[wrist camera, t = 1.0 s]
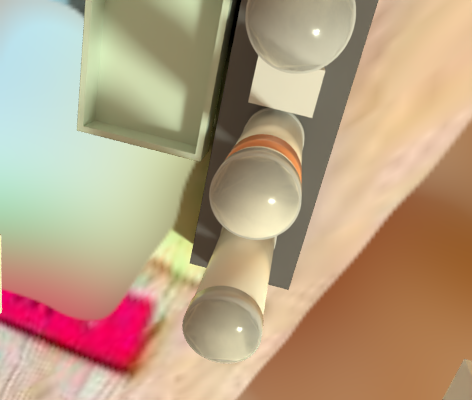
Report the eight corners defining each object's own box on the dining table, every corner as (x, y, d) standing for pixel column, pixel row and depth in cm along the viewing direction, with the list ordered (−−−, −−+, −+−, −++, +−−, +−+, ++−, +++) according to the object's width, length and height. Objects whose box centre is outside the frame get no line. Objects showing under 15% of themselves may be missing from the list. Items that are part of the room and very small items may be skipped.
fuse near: (263, 45, 32) (235, 60, 20) (279, -26, 30) (258, -56, 18) (326, 60, 31) (336, 84, 19) (346, -11, 29) (371, -31, 18)
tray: (93, 122, 39) (76, 130, 36) (106, -42, 34) (88, -47, 31) (208, 151, 38) (200, 161, 36) (239, -11, 33) (233, -14, 30)
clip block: (197, 247, 42) (178, 284, 36) (259, -62, 32) (248, -81, 26) (289, 272, 42) (286, 313, 36) (383, -35, 31) (401, -48, 25)
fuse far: (218, 248, 38) (176, 351, 26) (228, 200, 36) (189, 288, 25) (269, 262, 38) (251, 372, 26) (283, 215, 36) (270, 310, 24)
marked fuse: (238, 156, 35) (201, 227, 23) (251, 99, 33) (218, 143, 21) (295, 171, 35) (287, 249, 23) (311, 113, 33) (312, 166, 21)
